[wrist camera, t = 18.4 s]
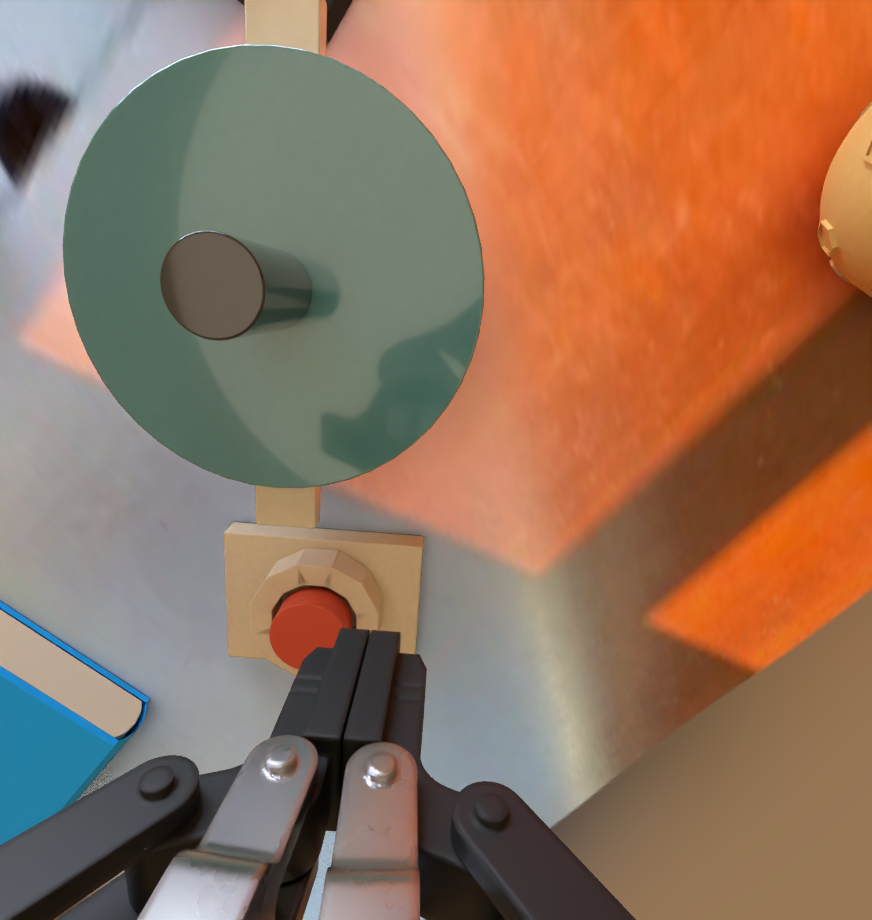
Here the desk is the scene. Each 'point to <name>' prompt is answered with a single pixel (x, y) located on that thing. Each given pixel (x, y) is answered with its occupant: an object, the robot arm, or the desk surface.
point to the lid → (273, 266)
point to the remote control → (331, 15)
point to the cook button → (307, 624)
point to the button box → (319, 580)
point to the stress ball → (850, 206)
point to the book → (54, 723)
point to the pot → (304, 27)
